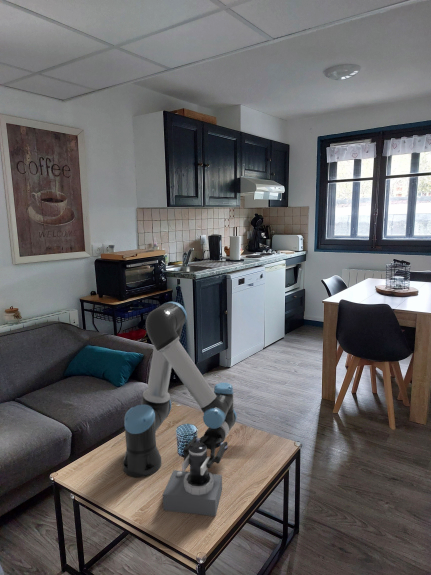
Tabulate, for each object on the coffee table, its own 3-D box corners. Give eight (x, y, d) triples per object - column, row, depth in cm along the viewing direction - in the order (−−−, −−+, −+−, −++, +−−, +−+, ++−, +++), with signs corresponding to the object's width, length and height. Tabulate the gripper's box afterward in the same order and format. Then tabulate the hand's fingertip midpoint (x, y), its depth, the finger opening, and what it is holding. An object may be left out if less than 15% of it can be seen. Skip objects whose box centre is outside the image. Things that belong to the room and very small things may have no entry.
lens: (188, 483, 134) (186, 451, 132) (192, 472, 140) (191, 441, 138) (206, 485, 133) (204, 453, 131) (209, 474, 139) (208, 442, 137)
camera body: (163, 510, 134) (162, 487, 132) (174, 484, 146) (173, 464, 145) (215, 516, 130) (215, 493, 129) (222, 489, 143) (221, 468, 141)
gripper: (240, 446, 149) (219, 485, 128) (194, 438, 156) (167, 474, 134) (239, 428, 148) (218, 464, 126) (193, 420, 154) (166, 454, 133)
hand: (192, 469), depth 130 cm, fingers closed on lens, 6 cm apart
